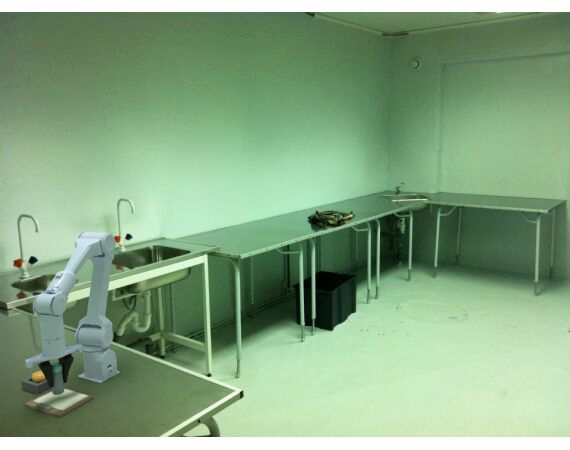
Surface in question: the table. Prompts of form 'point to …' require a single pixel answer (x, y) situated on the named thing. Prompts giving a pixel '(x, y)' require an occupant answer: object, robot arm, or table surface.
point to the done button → (38, 377)
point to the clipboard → (59, 402)
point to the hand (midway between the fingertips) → (57, 384)
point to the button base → (34, 386)
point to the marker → (57, 379)
